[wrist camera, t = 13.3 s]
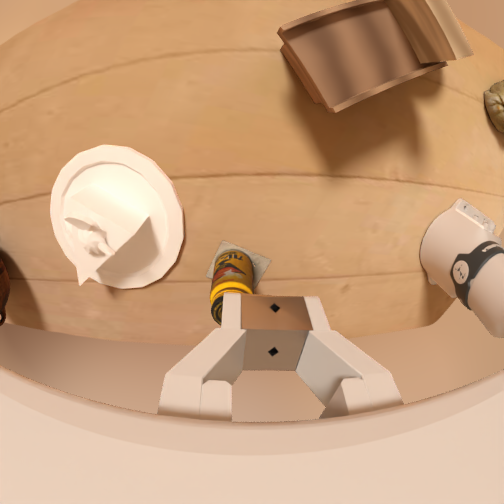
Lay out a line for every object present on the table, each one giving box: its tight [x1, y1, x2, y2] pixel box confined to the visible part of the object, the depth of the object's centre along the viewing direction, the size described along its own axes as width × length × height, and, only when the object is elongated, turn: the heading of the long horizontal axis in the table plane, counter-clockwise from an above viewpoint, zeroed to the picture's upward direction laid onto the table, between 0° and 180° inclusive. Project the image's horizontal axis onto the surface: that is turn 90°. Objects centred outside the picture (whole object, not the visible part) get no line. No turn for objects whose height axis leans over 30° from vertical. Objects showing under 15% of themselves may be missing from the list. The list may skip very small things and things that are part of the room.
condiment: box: [206, 240, 271, 325], centre depth 39 cm, size 7×8×12 cm
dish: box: [50, 145, 184, 289], centre depth 35 cm, size 25×25×11 cm
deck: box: [277, 0, 448, 113], centre depth 24 cm, size 18×11×10 cm, turn 122°
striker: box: [384, 0, 474, 63], centre depth 16 cm, size 4×9×7 cm, turn 32°
